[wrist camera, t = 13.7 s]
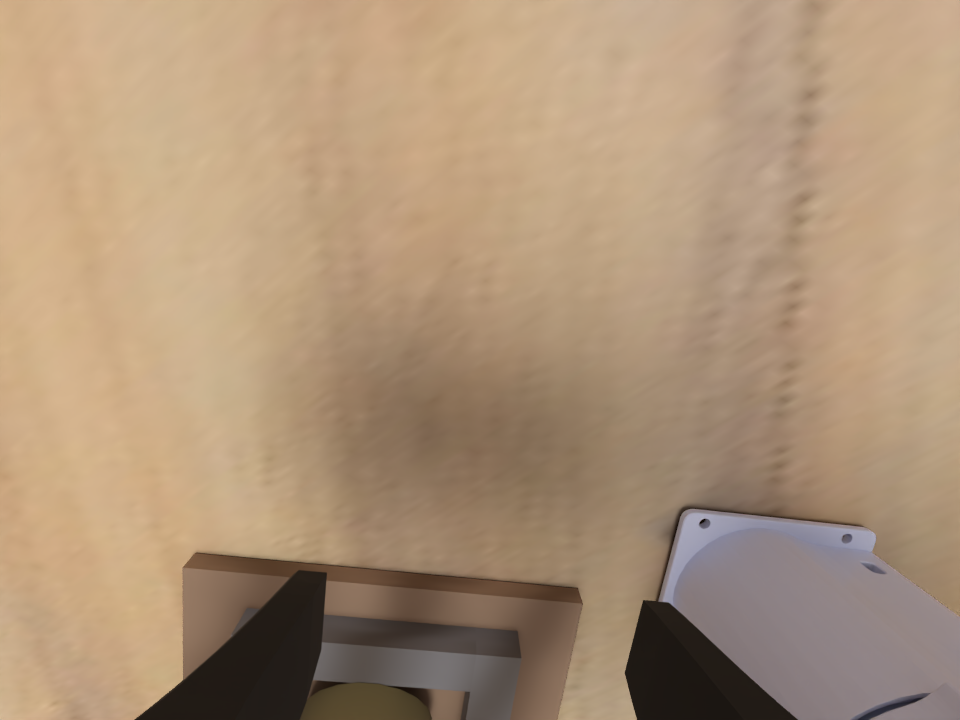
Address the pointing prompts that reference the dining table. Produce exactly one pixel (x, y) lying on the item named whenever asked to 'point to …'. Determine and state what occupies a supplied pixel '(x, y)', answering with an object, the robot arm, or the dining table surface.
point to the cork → (364, 704)
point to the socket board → (395, 601)
